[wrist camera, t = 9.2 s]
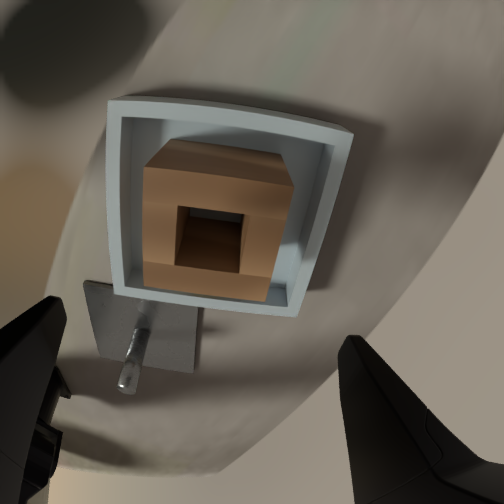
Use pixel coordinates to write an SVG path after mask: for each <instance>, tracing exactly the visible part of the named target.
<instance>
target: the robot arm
mask: <svg viewBox="0 0 504 504" xmlns="http://www.w3.org/2000/svg"><path fill="white" fill-rule="evenodd" d="M66 321H67V316H66V312H65V309H64V305H63V302H62V299H61V298H60V297H56V296H51V295H50V296H48V297H46V298H44V299H43V300H41V301H40V302H38V303H37V304H35V305H34V306H33V307H31V308H30V309H28V310H27V311H25V312H24V313H22V314H21V315H19V316H18V317H17V318H15V319H14V320H12V321H11V322H9V323H8V324H7V325H5V326H4V327H2V328H1V329H0V504H27V501H28V500H29V499H30V498H32V497H33V496H34V495H35V494H37V493H38V492H39V491H40V490H42V489H43V488H44V487H45V486H46V485H47V484H48V481H49V478H51V477H52V476H53V474H54V472H55V470H56V467H57V463H58V458H59V452H60V446H61V440H62V434H63V432H62V431H60V430H57V429H55V428H53V427H51V426H50V423H51V420H52V417H53V414H54V411H55V408H56V405H57V402H58V400H59V397H60V396H61V397H64V398H67V399H70V398H71V394H70V392H69V390H68V388H67V386H66V384H65V382H64V380H63V378H62V376H61V374H60V371H59V369H58V368H57V367H55V366H54V365H55V362H56V359H57V355H58V351H59V347H60V344H61V340H62V336H63V333H64V329H65V326H66ZM338 370H339V388H340V401H341V408H342V414H343V420H344V426H345V433H346V440H347V447H348V454H349V461H350V469H351V476H352V484H353V493H354V502H355V504H504V464H498V463H493V462H488V461H486V460H484V459H482V458H480V457H478V456H477V455H476V454H474V452H472V451H471V450H470V449H469V448H468V447H467V446H466V445H465V444H463V443H462V442H461V441H460V440H459V439H458V438H457V437H456V436H455V435H454V434H453V433H452V432H451V431H450V430H449V429H448V428H447V427H445V426H444V425H443V423H442V422H441V421H440V420H439V419H438V418H437V417H436V416H435V415H434V414H433V413H432V412H431V411H430V410H429V409H427V406H426V405H425V404H424V403H423V402H422V401H421V400H420V399H419V398H418V397H417V395H416V394H415V393H414V392H413V391H412V390H411V389H410V388H409V387H408V386H407V385H406V384H405V383H404V381H403V380H402V379H401V378H400V377H399V376H398V375H397V374H396V373H395V372H394V371H393V370H392V369H391V367H390V366H389V365H388V364H387V363H386V362H385V361H384V360H383V359H382V358H381V357H380V356H379V355H378V354H377V352H376V351H375V350H374V349H373V348H372V347H371V346H370V345H369V344H368V343H367V342H366V341H365V340H364V339H363V338H362V337H361V336H360V335H348V336H347V337H346V339H345V341H344V342H343V344H342V346H341V348H340V350H339V352H338Z"/></svg>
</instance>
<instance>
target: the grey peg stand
mask: <svg viewBox="0 0 504 504" xmlns="http://www.w3.org/2000/svg"><path fill="white" fill-rule="evenodd" d="M83 287H84V292H85V297H86V302H87V306H88V311H89V315H90V320H91V324H92V328H93V332H94V336H95V340H96V343H97V347H98V351H99V354H100V357H101V358H106V359H110V360H115V361H120V362H124V364H123V367H122V370H121V374H120V377H119V381H118V384H117V389H118V390H119V391H120V392H122V393H124V394H128V395H133V394H135V392H136V388H137V384H138V380H139V376H140V372H141V368H142V366H147V367H153V368H159V369H165V370H172V371H179V372H186V373H194V359H195V344H196V330H197V318H198V307H197V306H189V305H182V304H175V303H168V302H161V301H154V300H148V299H141V298H135V297H129V296H123V295H117V294H114V288H113V285H107V284H101V283H96V282H90V281H84V283H83Z"/></svg>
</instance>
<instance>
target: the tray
mask: <svg viewBox="0 0 504 504" xmlns="http://www.w3.org/2000/svg"><path fill="white" fill-rule="evenodd" d="M353 136H354V134H353V133H351V132H350V131H348V130H347V129H345V128H344V127H342V126H341V125H338V124H334V123H330V122H326V121H321V120H317V119H313V118H308V117H304V116H299V115H294V114H289V113H284V112H279V111H273V110H268V109H262V108H256V107H250V106H243V105H236V104H229V103H221V102H213V101H204V100H195V99H184V98H171V97H156V96H133V95H125V96H121V97H118V98H114V99H111V100H108V108H107V127H106V204H107V224H108V238H109V251H110V261H111V271H112V280H113V288H114V294H117V295H123V296H129V297H135V298H141V299H148V300H154V301H161V302H168V303H175V304H182V305H189V306H197V307H204V308H212V309H221V310H229V311H238V312H247V313H256V314H266V315H276V316H287V317H297V315H298V312H299V309H300V306H301V304H302V301H303V298H304V295H305V292H306V289H307V287H308V284H309V281H310V278H311V275H312V272H313V269H314V266H315V263H316V260H317V257H318V254H319V251H320V248H321V245H322V242H323V239H324V236H325V232H326V229H327V226H328V223H329V220H330V216H331V213H332V210H333V207H334V203H335V200H336V197H337V193H338V190H339V187H340V183H341V180H342V176H343V173H344V169H345V166H346V162H347V158H348V155H349V151H350V148H351V144H352V140H353ZM170 139H177V140H186V141H195V142H204V143H212V144H219V145H227V146H234V147H240V148H247V149H253V150H260V151H266V152H271V153H277V154H281V156H282V158H283V160H284V163H285V165H286V168H287V170H288V173H289V175H290V177H291V180H292V182H293V185H294V191H293V195H292V199H291V203H290V207H289V211H288V215H287V219H286V223H285V227H284V231H283V235H282V239H281V243H280V247H279V251H278V255H277V259H276V263H275V266H274V270H273V274H272V278H271V282H270V285H269V289H268V293H267V297H266V300H265V302H262V301H253V300H244V299H236V298H228V297H220V296H212V295H204V294H197V293H189V292H182V291H175V290H168V289H161V288H154V287H148V286H144V282H143V250H142V202H143V171H144V166H145V165H146V164H147V163H148V162H149V161H150V159H151V158H152V157H153V156H154V155H155V154H156V153H157V152H158V151H159V150H160V149H161V148H162V147H163V146H164V145H165V144H166V143H167V142H168V141H169V140H170ZM241 215H242V214H239V213H232V212H225V211H217V210H210V209H202V208H195V207H190V216H193V217H201V218H208V219H216V220H223V221H230V222H237V223H240V221H241Z"/></svg>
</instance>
